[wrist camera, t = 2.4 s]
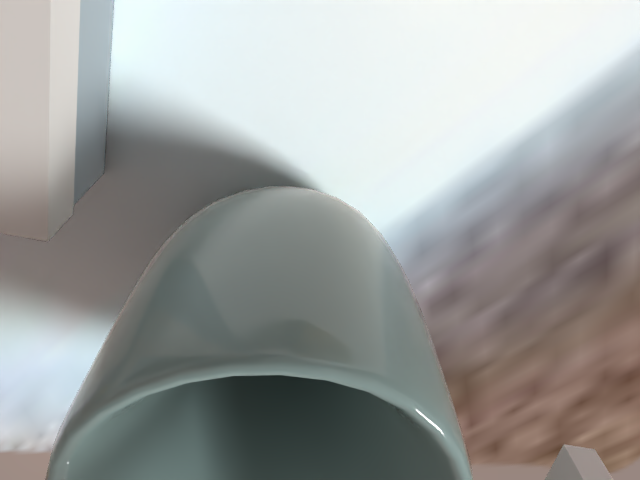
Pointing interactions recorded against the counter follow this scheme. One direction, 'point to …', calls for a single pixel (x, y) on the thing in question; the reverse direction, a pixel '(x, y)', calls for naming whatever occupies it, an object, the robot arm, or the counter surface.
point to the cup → (266, 358)
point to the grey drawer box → (51, 109)
